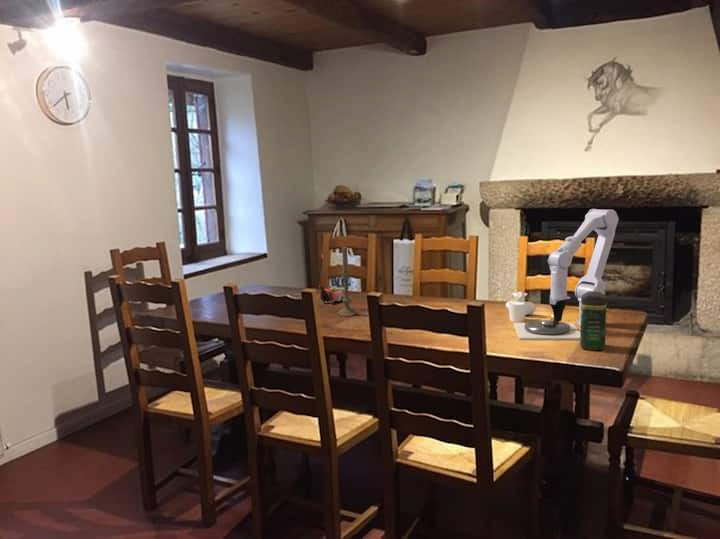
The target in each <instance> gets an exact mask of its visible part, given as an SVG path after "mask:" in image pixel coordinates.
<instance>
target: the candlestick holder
mask: <svg viewBox="0 0 720 539" xmlns="http://www.w3.org/2000/svg"><path fill="white" fill-rule="evenodd" d="M341 253H342V257H341V258H342V271H341V275H342V276H341V278H342V280H343V290H344V291H345V292H344V298H343V300H342V304H344V307H343V309H340V310H339V311H337V313H338V314H341V315H350V314H354V313H356V312H357V311H356V310H355V309H353V308H351V307H350V304H351V301H352V300H351V298H350V297H349V281H348V280H349V279H350V274H351V271H349V268H348V267H349V262H348V260H349V259H348V247H346V246H343V247H341Z"/></svg>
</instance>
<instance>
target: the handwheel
mask: <svg viewBox="0 0 720 539" xmlns="http://www.w3.org/2000/svg"><path fill="white" fill-rule="evenodd" d="M525 323H526V324H525V330H527V331H529V332H533V333H539V334H561V333H566V332H569V331H570V325H569V324H567V323H568V322H563V321H555V320H554V313H550V319H545V320H534V321H533V320H532V321H529V322H525Z"/></svg>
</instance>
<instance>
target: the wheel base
mask: <svg viewBox="0 0 720 539" xmlns="http://www.w3.org/2000/svg"><path fill="white" fill-rule="evenodd" d="M526 323H527V322H513V326H514V329H515V332H516V335H517V338H518V340H519V341H580V333H581V330H580V329H578V327H577V326H576V325H575V323H574V322H566V323H567V324H569V325H570V331H569V332H566V333H561V334H539V333H533V332H529V331H527V330H525V324H526Z"/></svg>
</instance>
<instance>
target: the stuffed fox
mask: <svg viewBox="0 0 720 539" xmlns="http://www.w3.org/2000/svg"><path fill="white" fill-rule="evenodd" d="M318 289H319V291H320V300H321V301H322V302H323V303H324V302H325V301H327V302H329V303H331V302H334V301H333V300H342V299H344V298H345V293H344V292H345V291H344V290H345V289H343V290H338V289H337V290H336V291H333V290H331V289H329V288H326V287H323V286H321V285H319V286H318ZM342 301H343V300H342Z"/></svg>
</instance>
